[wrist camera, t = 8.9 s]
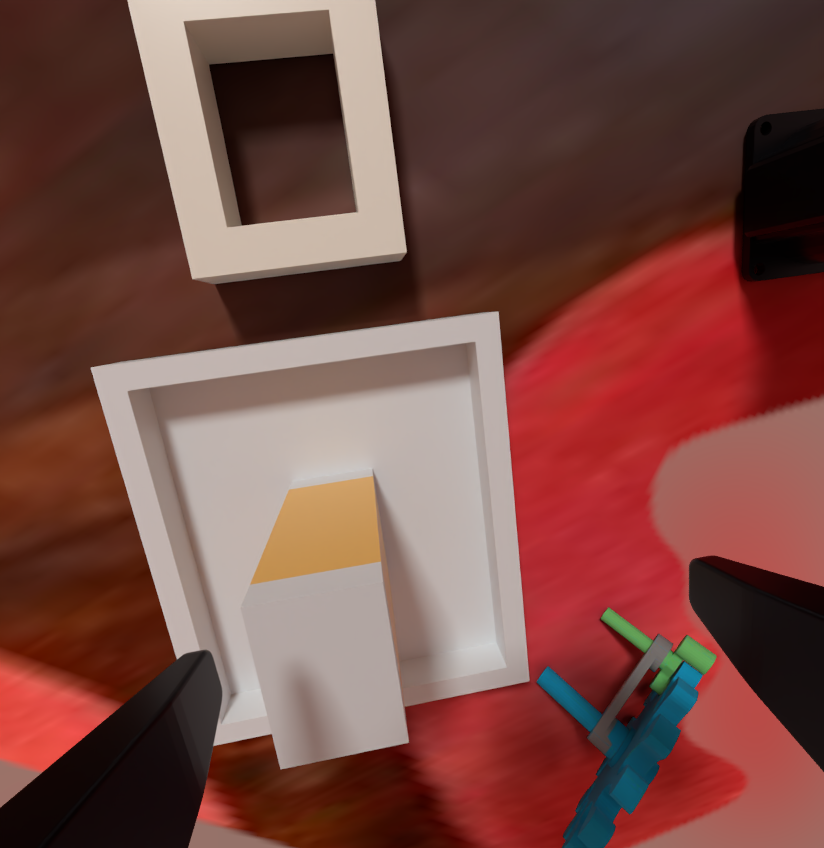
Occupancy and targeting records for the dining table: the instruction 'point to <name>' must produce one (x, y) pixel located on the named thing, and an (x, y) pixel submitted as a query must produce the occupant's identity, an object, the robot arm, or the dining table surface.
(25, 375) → the dining table surface
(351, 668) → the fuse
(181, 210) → the white shallow boxy piece
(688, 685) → the blue toy water gun
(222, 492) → the parts tray
